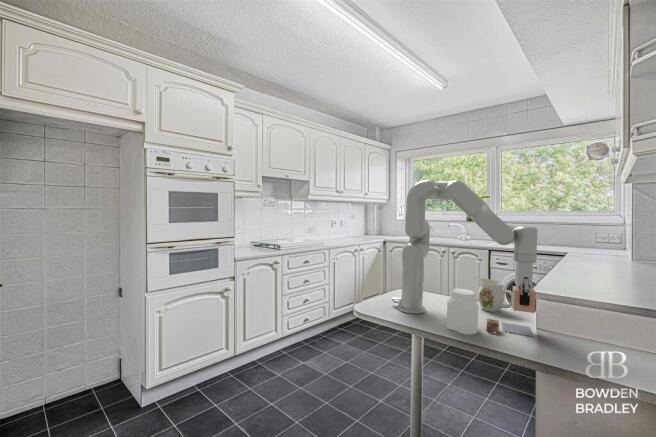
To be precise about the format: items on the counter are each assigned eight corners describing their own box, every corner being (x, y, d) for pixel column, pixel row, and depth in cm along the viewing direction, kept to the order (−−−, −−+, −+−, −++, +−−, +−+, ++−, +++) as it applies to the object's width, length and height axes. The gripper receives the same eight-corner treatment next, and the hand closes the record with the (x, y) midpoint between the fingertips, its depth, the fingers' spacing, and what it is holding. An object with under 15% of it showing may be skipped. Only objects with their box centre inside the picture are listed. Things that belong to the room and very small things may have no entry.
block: (486, 331, 124) (487, 321, 124) (486, 328, 128) (487, 318, 128) (498, 334, 123) (498, 323, 122) (497, 330, 126) (498, 320, 126)
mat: (503, 331, 124) (503, 330, 124) (501, 323, 133) (501, 322, 133) (533, 337, 120) (533, 336, 120) (529, 327, 129) (529, 326, 129)
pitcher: (508, 318, 139) (510, 287, 138) (467, 307, 152) (469, 279, 152) (517, 313, 146) (519, 284, 145) (478, 303, 160) (479, 276, 159)
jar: (441, 326, 128) (443, 290, 127) (453, 321, 134) (455, 286, 133) (469, 336, 119) (472, 297, 118) (481, 330, 125) (483, 293, 124)
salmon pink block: (513, 310, 124) (514, 290, 124) (511, 305, 130) (512, 285, 130) (534, 313, 121) (535, 292, 121) (532, 307, 127) (532, 288, 127)
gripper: (511, 253, 134) (510, 295, 135) (516, 260, 118) (514, 307, 119) (532, 255, 131) (531, 297, 132) (540, 262, 115) (538, 310, 116)
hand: (523, 302), depth 125 cm, fingers closed on salmon pink block, 7 cm apart
